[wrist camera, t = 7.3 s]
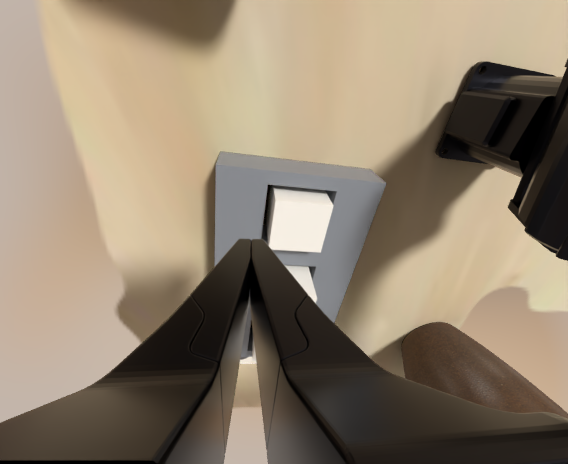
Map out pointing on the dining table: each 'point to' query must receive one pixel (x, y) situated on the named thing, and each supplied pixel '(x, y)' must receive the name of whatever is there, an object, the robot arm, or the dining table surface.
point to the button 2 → (297, 218)
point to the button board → (274, 171)
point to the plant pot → (469, 371)
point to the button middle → (303, 279)
